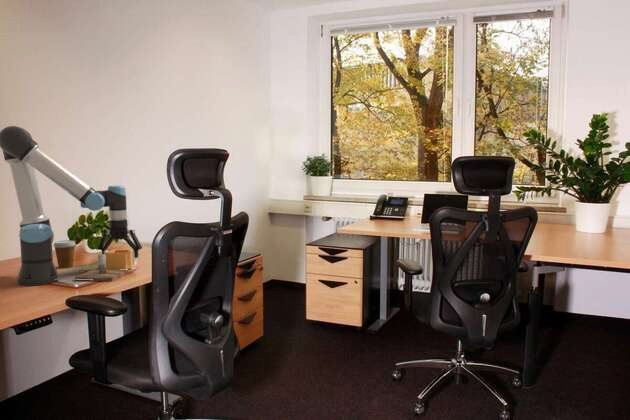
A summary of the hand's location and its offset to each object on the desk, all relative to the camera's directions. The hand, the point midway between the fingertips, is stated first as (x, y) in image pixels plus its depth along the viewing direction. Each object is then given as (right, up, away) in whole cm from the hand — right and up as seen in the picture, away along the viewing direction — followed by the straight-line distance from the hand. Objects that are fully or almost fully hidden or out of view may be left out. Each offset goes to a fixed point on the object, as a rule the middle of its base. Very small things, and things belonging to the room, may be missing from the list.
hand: (120, 264), depth 251 cm
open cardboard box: (0, -2, 0) cm, 2 cm away
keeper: (-2, -4, -17) cm, 17 cm away
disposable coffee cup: (-27, -2, +4) cm, 28 cm away
